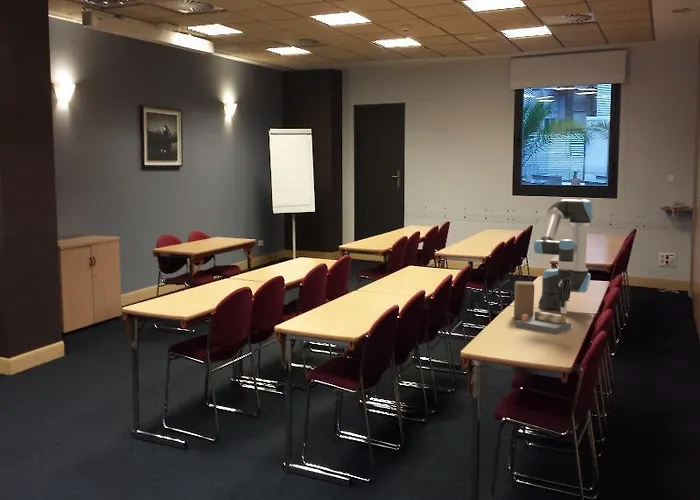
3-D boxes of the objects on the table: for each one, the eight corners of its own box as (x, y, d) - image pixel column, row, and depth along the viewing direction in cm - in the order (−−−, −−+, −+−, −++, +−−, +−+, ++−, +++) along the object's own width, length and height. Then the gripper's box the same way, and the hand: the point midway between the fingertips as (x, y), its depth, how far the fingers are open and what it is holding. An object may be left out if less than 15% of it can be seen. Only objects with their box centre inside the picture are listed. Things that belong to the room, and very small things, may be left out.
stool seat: (532, 321, 359) (533, 310, 359) (570, 328, 344) (571, 317, 343) (516, 326, 347) (516, 315, 346) (555, 334, 332) (555, 322, 331)
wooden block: (533, 320, 362) (534, 284, 359) (514, 319, 364) (515, 283, 361) (532, 316, 372) (533, 281, 369) (513, 315, 374) (514, 280, 371)
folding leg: (533, 318, 352) (533, 311, 352) (536, 317, 355) (536, 310, 354) (562, 323, 341) (562, 316, 340) (565, 322, 343) (565, 315, 343)
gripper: (564, 266, 354) (562, 310, 357) (553, 269, 345) (551, 313, 347) (578, 268, 349) (575, 312, 351) (566, 270, 339) (564, 316, 342)
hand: (563, 313), depth 349 cm, fingers closed
